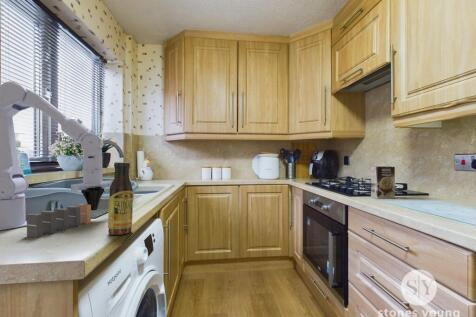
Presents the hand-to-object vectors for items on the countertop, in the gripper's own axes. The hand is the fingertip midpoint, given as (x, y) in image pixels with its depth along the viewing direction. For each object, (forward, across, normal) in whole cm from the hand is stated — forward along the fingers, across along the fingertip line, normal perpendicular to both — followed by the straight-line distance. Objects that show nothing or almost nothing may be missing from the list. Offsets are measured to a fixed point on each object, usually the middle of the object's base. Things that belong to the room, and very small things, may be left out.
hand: (93, 209), depth 88 cm
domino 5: (+4, -3, 0) cm, 5 cm away
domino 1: (+4, -18, 0) cm, 19 cm away
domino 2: (+4, -15, 0) cm, 15 cm away
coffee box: (+4, +83, -102) cm, 131 cm away
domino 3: (+4, -11, 0) cm, 12 cm away
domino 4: (+4, -7, 0) cm, 8 cm away
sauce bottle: (+4, -9, -20) cm, 22 cm away
